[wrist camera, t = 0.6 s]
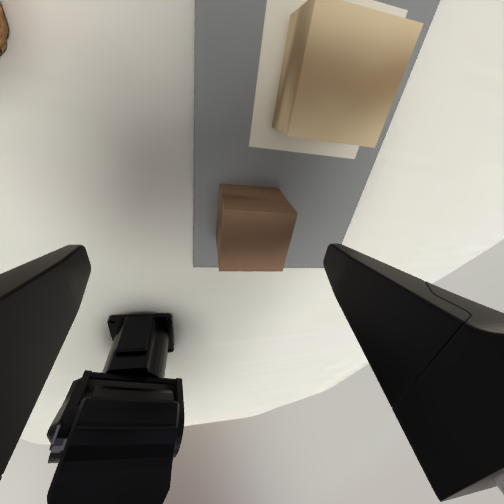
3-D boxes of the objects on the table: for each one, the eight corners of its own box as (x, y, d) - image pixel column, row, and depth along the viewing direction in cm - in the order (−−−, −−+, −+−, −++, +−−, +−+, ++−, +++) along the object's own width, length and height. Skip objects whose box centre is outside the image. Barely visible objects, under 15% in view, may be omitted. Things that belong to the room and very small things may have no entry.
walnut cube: (268, 238, 23) (282, 271, 19) (215, 237, 22) (219, 271, 18) (278, 188, 20) (297, 213, 16) (219, 183, 19) (224, 209, 15)
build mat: (330, 265, 27) (331, 268, 27) (193, 264, 24) (193, 267, 23) (441, -13, 15) (447, -16, 15) (195, -94, 12) (195, -100, 11)
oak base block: (344, 137, 19) (374, 147, 16) (271, 126, 17) (287, 136, 14) (377, 36, 16) (423, 23, 12) (290, 14, 14) (316, -7, 11)
